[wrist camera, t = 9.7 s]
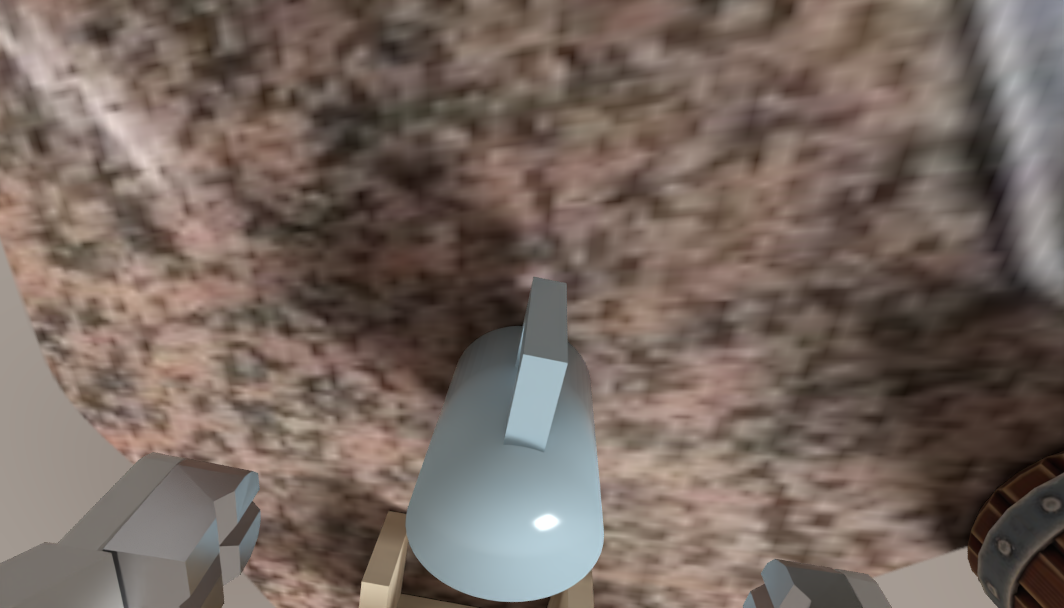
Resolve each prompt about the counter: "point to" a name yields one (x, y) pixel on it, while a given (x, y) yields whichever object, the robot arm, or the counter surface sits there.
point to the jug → (513, 464)
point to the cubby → (387, 604)
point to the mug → (1023, 539)
